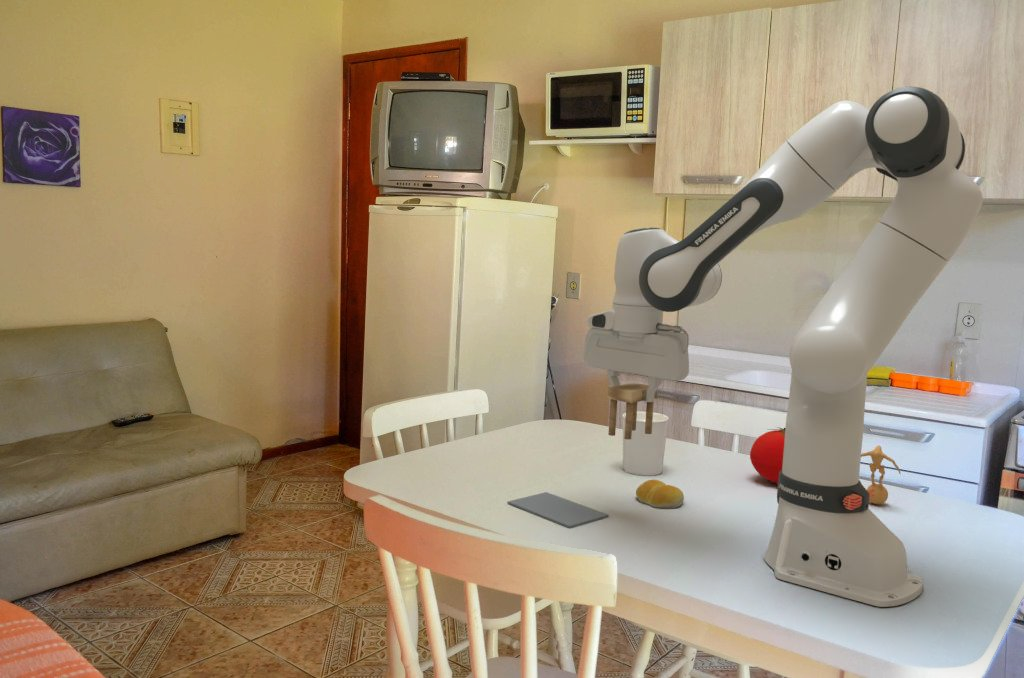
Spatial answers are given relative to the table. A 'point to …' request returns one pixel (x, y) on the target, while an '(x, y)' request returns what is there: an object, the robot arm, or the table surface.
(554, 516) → the mat
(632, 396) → the stool
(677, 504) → the bread roll
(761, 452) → the tomato
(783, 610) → the table surface
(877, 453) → the figurine
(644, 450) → the candle holder
